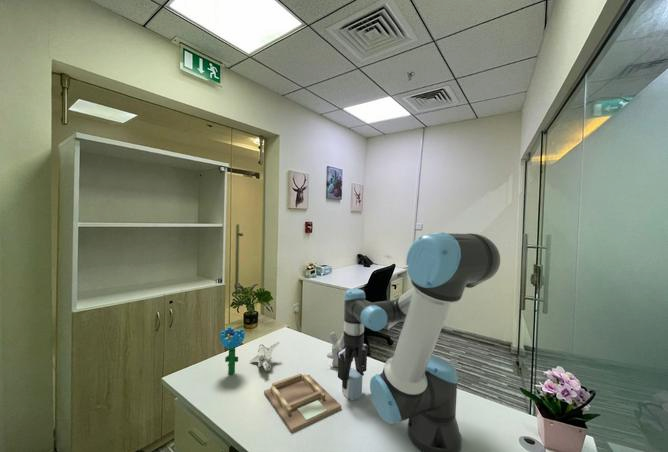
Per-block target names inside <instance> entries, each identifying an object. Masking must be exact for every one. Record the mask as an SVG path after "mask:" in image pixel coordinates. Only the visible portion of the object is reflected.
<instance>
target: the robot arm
mask: <svg viewBox="0 0 668 452" xmlns="http://www.w3.org/2000/svg"><path fill="white" fill-rule="evenodd" d="M405 260H406V261H405V263H406V264H405V265H406V266H407V268H406V271H407V274H408V276H409V278H410V283H411V285H412V287H411V288H410V289H408V290H407V291H406V292H404V293H403V294H402V295H400V296H399V297H397V298H395V299H391V300H383V301H375V302H371V301H368V300H366V292H365V291H364V290H362V289H361V288H360V289H359V288H350V289H349V288H348V289H347V290H346V291H345V292H344V300H343V302H344V307H343V308H344V309H343V317H344V319H343V334H344V337H343V341H344V347H343V350H342V351H341V352H339V351H338V352H337V356H338V367H337V378H338V379H339V380H341V381H342V384H341V386H342V387H343V393H342V395H343V396H344V397H345V398H347V399H349V392H350V380H349V379H348V378H349V373H350V368H352V367H351V366H352V363H353V362H354V365H355V370H356V371H357V372H358V373H360V374H361V375H362V377H363V376H365V373H364V372H366V371H367V364H368V363H367V360H368V350H369V345H367V344H366V343H364V341H365V340H364V339H365V334H364V332H365V328H367V329H369V330H371V331H373V332H378V331H381V330H383V328H385V326H387V325H389V324H395V323H400V322H401V323H402V322H403V325H402V327H401V331H400V334H399V336H398V337H399V338H398V340H397V343H396V348H395V351H394V353H393V356H391V357H389V358H388V359H387V360H386V361H385V363H384V366H383V369H382V372H381V373H380V374H379V373H376V374H375V375H373V376H372V377H371V378H370V380H369V381H370V383H369V390H370V396H371V399H372V403H373V404H374V407H375V409H376V411H377V414H378V416H379V417H380V418H381V419H382V420H383V421H384V422H385V423H387V424H389V425H393V424H396V423H398V424H399V423H402V422H403V421H406V420H408V421H407V434H408V438H409V439H410V442H412V443H413V445H414V446H415V447H416V448H417V449H419V450H420V451H422V452H459V451H460V452H461V450H462V434H461V432H460V428H459V424H458V421H457V418H456V417H457V416H456V415H457V414H456V413H457V397H458V396H457V393H458V371H457V368H456V367H455V366H454V364H452V363H451V362H449V361H448V360H446V359H444V358H442V357H440V356H437V355H433V351H434V350H435V347H436V344H437V342H438V339H439V336H440V334H441V331H442V329H443V326H444V324H445V320H446V317H447V315H448V313H449V309H451V308H450V307H451V305H452V304H455V303H458V302H459V301H461V299H462V297H463V294H464V293H465V292H464V291H465V289H472V288H474V287H476V286H478V285H479V284H482V283H484V282H486V281H488V280H490V279H491V278H492V277H493V278H494V276H495V275H496V274H497V272H499V269H500V266H501V255H500V250H499V249H498V247H497V245H496V244H495V243H494V242H493V241H492V240H491V239H489V238H488V237H487V236H485V235H481V234H478V233H446V232H435V233H427V234H424V235H421V236H420V237H418V238H416V239H415V240H414V241H413V242H412V244H411V245H410V247H409V248H408V251H407V255H406V259H405ZM342 387H341V388H342Z"/></svg>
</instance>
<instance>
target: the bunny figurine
mask: <svg viewBox="0 0 668 452" xmlns="http://www.w3.org/2000/svg"><path fill="white" fill-rule="evenodd" d="M329 337H330V339H331V341H332V345H331V347H332V348H331V352H328V353H327V355H326V357H327V358H328V359H331V360H332V363H331V364H332V367H333V368H337V369H338V356H337V352H338V351H339V352H341V351H342V350H343V347H344V341H343V337H344V333H342V334H341V336H340V339H339V340H338V339H337V334H336V333H335V332H334V331H332V332H331V333H329Z"/></svg>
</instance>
